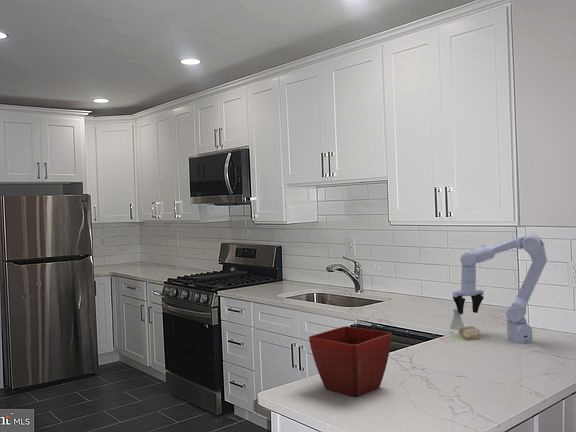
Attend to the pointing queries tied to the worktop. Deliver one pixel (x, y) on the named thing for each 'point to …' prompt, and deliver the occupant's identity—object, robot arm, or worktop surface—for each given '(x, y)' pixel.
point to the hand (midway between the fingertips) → (467, 313)
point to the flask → (456, 320)
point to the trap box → (459, 339)
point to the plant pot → (351, 358)
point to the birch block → (469, 333)
